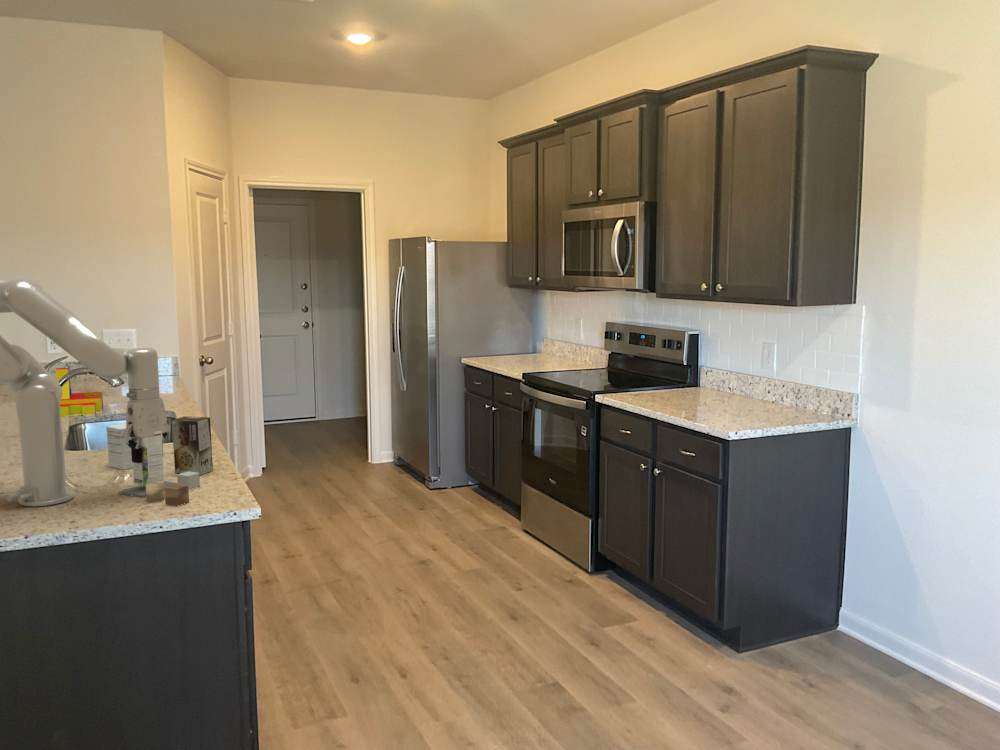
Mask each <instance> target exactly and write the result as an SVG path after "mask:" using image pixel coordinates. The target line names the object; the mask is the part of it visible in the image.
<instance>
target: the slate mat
mask: <svg viewBox="0 0 1000 750" xmlns="http://www.w3.org/2000/svg"><path fill="white" fill-rule="evenodd" d="M174 484H178V482H172V481H166V480H164V491H165V487H168V486H171V485H174ZM118 493H122V494H121V495H123V494H128V495H127V496H130V495H133V496H132V497H136V496H138V498H142V497H144V498H146V497H145V496H146V487H145V486H142V485H139V484H137V485H135V486H132V487H129V488H126V489H122V490H119V491H118Z"/></svg>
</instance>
